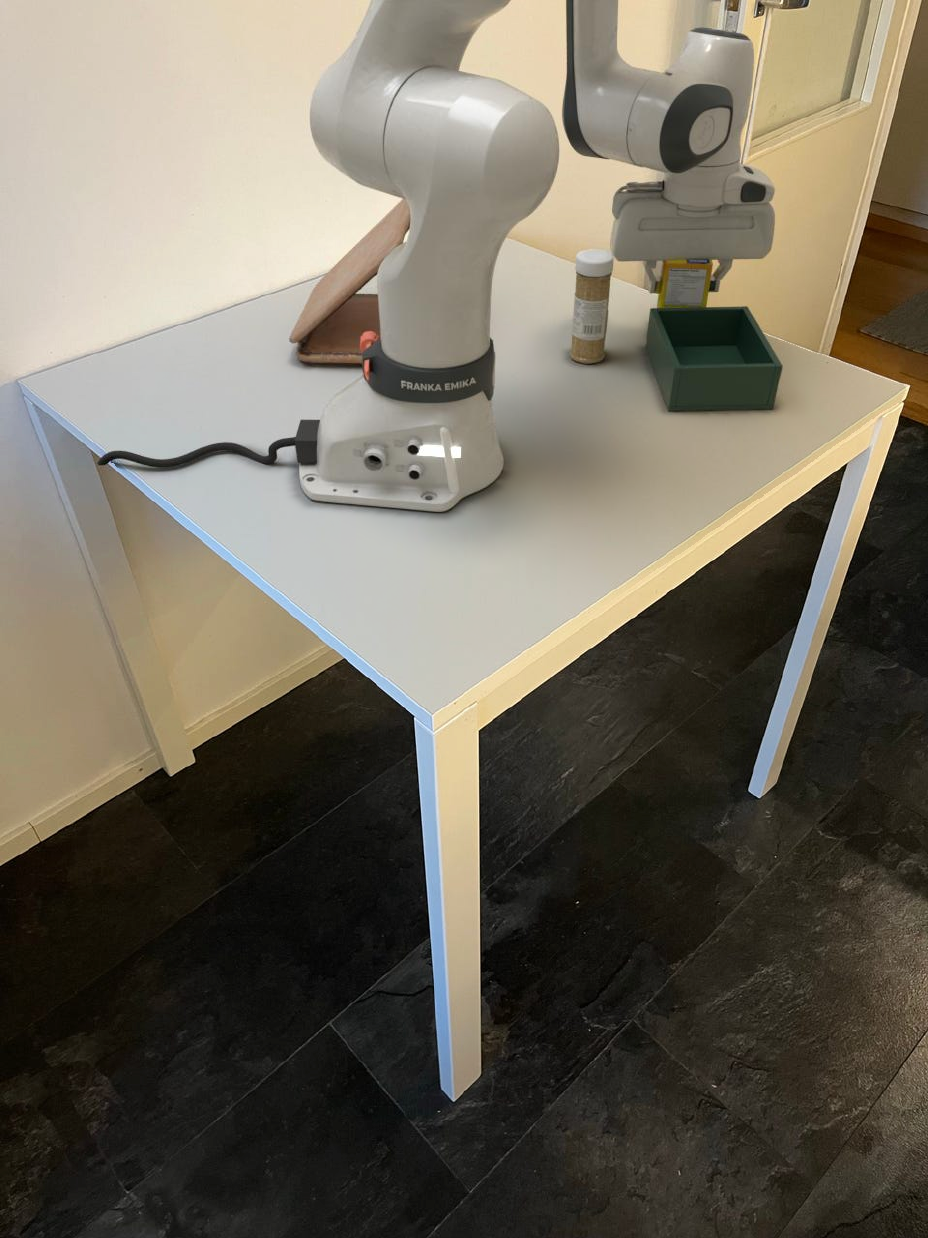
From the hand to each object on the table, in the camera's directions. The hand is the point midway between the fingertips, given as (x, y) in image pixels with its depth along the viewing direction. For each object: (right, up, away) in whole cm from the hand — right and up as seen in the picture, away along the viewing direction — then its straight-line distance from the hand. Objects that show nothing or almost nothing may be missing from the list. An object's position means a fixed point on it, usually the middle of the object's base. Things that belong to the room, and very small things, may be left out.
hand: (683, 291), depth 126 cm
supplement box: (0, -5, +4) cm, 6 cm away
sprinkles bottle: (-13, -9, -1) cm, 16 cm away
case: (-41, -4, +5) cm, 41 cm away
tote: (+2, -13, -5) cm, 14 cm away
